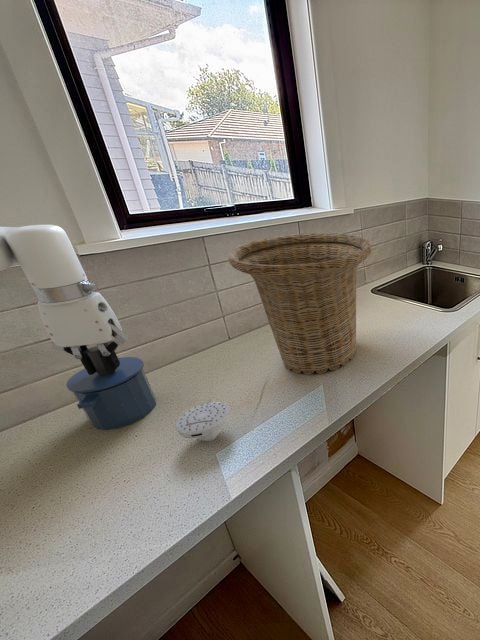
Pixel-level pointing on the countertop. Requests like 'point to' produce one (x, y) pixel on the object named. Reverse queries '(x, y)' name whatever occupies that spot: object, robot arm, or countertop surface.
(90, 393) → the pot
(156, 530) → the countertop surface
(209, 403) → the showerhead
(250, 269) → the wicker basket
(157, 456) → the countertop surface
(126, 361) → the lid
